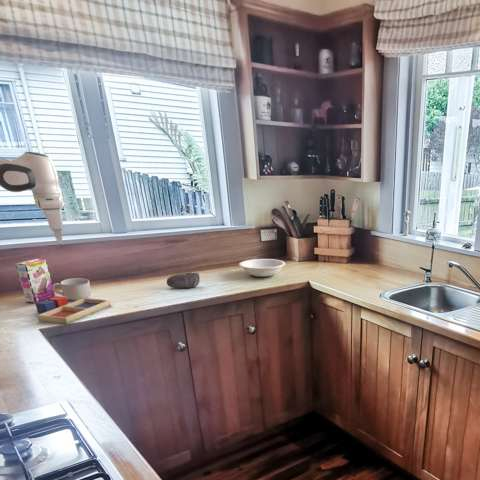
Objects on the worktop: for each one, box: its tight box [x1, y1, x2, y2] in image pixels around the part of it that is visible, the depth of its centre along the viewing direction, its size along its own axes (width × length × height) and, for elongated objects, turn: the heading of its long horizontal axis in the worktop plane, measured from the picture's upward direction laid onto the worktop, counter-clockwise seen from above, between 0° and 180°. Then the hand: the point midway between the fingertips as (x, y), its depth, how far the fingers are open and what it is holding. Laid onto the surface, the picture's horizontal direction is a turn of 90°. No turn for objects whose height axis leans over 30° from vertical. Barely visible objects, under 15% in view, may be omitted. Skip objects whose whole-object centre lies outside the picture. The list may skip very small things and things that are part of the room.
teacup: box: [52, 277, 92, 302], centre depth 201 cm, size 14×11×8 cm
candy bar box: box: [15, 258, 56, 304], centre depth 197 cm, size 11×5×16 cm, turn 172°
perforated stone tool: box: [166, 272, 201, 289], centre depth 222 cm, size 15×5×7 cm, turn 108°
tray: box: [37, 297, 112, 325], centre depth 185 cm, size 12×24×2 cm, turn 169°
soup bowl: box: [238, 258, 286, 278], centre depth 249 cm, size 24×24×7 cm
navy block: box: [34, 299, 56, 315], centre depth 184 cm, size 4×4×4 cm
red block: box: [47, 295, 69, 308], centre depth 189 cm, size 4×4×4 cm
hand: (59, 240), depth 175 cm, fingers open, 8 cm apart
